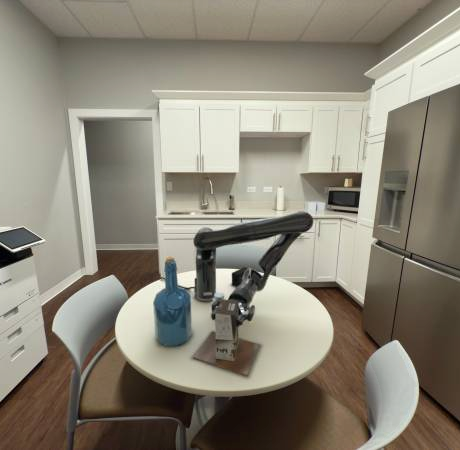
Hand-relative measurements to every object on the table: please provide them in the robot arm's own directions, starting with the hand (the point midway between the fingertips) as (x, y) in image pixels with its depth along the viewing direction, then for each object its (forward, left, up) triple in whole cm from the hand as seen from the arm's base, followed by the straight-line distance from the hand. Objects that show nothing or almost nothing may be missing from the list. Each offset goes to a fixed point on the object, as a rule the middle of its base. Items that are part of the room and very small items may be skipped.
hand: (225, 320), depth 78 cm
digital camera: (-12, +52, -13) cm, 54 cm away
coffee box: (0, +2, -12) cm, 12 cm away
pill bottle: (-11, +20, -13) cm, 26 cm away
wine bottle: (-21, +2, -13) cm, 25 cm away
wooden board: (0, +2, -13) cm, 13 cm away
